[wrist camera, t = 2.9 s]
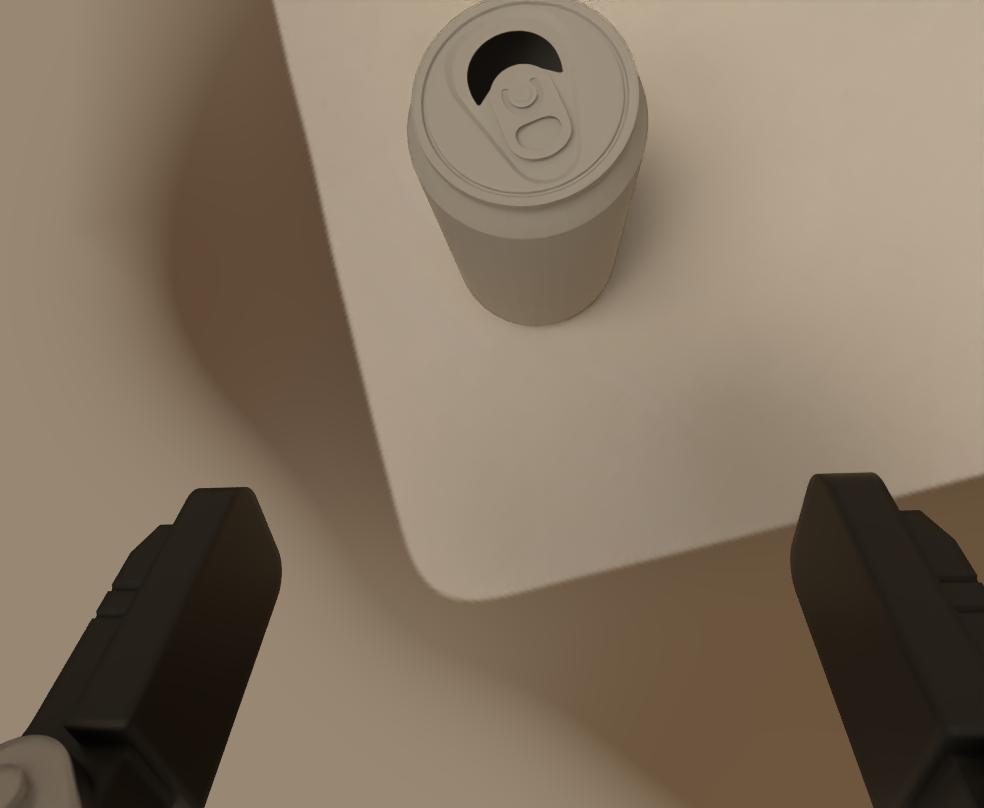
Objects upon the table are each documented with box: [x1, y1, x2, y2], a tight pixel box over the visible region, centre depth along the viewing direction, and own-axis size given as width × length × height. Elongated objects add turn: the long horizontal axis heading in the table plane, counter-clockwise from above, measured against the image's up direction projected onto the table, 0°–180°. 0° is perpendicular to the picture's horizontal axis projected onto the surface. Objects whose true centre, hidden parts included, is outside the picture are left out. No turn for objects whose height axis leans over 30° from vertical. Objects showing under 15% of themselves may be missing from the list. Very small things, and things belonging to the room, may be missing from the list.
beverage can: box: [407, 0, 648, 326], centre depth 23 cm, size 6×6×12 cm
